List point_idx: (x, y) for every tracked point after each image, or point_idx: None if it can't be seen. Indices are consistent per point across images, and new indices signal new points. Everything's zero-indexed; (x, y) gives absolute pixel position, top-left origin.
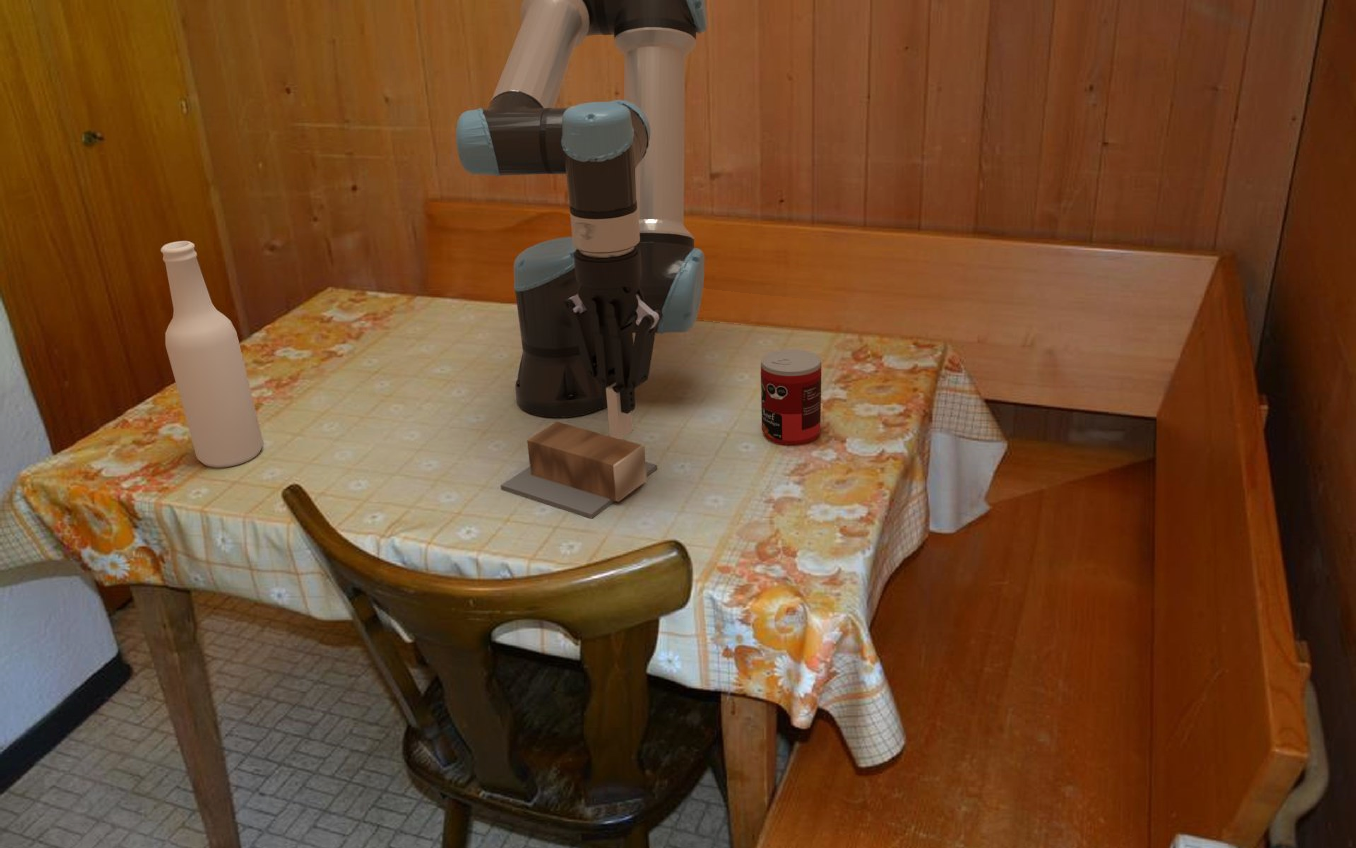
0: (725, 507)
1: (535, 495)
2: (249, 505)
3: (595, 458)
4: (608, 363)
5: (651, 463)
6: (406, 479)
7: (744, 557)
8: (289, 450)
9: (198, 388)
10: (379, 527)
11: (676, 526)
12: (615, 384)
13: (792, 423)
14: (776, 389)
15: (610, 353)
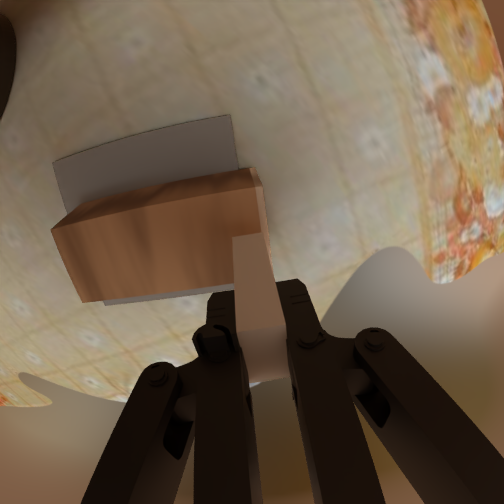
0: (394, 151)
1: (157, 298)
2: (36, 397)
3: (221, 280)
4: (253, 443)
5: (218, 117)
6: (38, 335)
7: (449, 230)
8: None
9: None
10: (109, 388)
11: (364, 227)
12: (255, 358)
13: None
14: None
15: (254, 470)
